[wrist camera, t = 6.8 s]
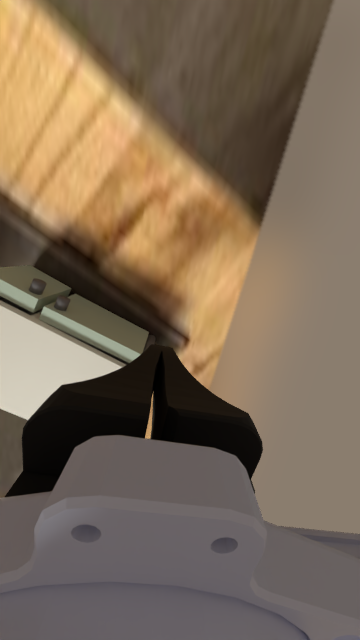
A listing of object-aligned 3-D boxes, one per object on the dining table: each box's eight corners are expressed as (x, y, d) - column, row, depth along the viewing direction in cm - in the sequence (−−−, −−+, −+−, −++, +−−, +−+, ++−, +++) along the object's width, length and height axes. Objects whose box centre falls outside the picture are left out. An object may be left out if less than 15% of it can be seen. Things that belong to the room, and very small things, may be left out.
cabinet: (114, 402, 24) (96, 447, 18) (-2, 348, 21) (-65, 382, 16) (162, 329, 21) (158, 355, 16) (35, 256, 19) (-26, 256, 13)
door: (152, 345, 21) (146, 371, 17) (71, 303, 20) (38, 319, 15) (161, 330, 21) (158, 351, 16) (79, 285, 19) (48, 295, 14)
